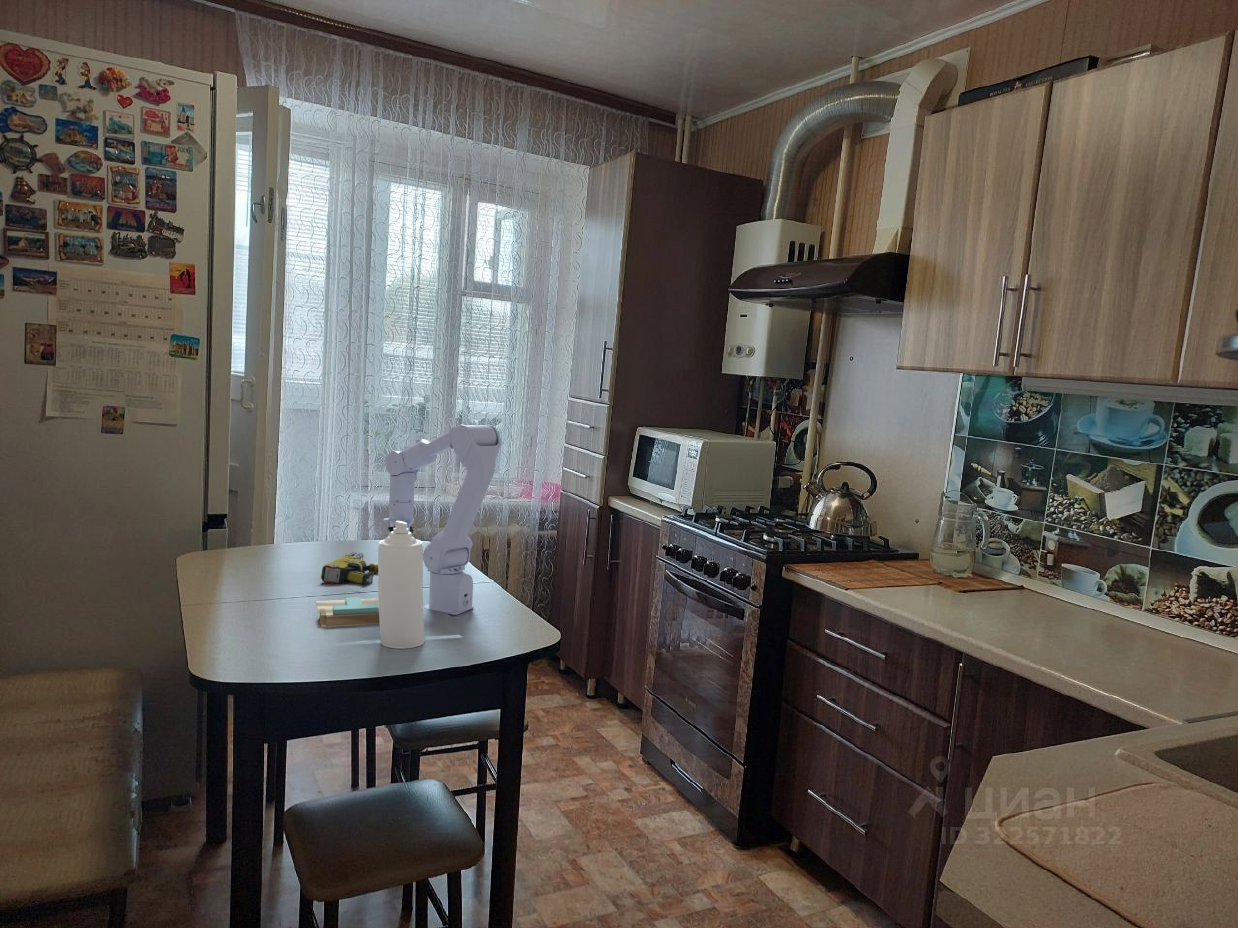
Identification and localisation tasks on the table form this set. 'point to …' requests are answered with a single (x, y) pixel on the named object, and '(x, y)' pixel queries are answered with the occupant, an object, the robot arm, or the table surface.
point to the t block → (355, 607)
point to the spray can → (401, 589)
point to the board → (345, 619)
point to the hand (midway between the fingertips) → (399, 556)
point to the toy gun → (349, 570)
